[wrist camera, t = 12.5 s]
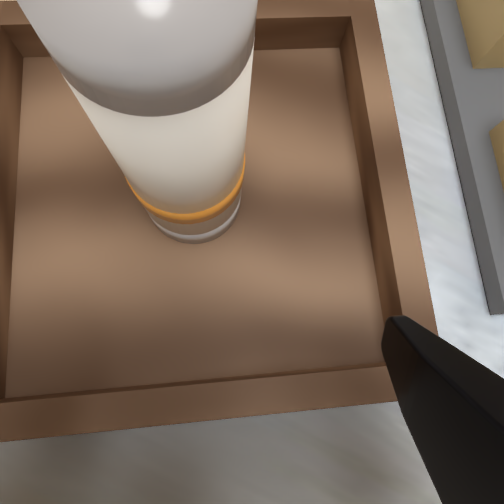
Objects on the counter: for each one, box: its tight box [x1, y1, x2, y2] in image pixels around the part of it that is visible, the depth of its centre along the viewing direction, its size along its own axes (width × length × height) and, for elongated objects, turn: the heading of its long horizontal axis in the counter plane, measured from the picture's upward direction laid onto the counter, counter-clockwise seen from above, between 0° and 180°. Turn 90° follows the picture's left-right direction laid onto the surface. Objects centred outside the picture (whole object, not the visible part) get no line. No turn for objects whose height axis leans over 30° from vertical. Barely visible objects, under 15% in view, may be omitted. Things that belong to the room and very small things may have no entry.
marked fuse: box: [17, 0, 258, 244], centre depth 12 cm, size 4×4×11 cm
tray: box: [0, 0, 438, 442], centre depth 16 cm, size 17×17×2 cm
